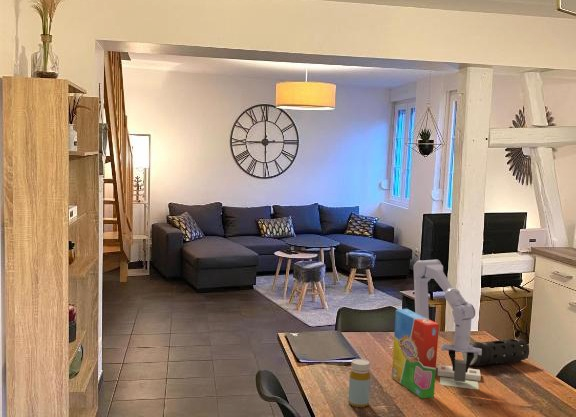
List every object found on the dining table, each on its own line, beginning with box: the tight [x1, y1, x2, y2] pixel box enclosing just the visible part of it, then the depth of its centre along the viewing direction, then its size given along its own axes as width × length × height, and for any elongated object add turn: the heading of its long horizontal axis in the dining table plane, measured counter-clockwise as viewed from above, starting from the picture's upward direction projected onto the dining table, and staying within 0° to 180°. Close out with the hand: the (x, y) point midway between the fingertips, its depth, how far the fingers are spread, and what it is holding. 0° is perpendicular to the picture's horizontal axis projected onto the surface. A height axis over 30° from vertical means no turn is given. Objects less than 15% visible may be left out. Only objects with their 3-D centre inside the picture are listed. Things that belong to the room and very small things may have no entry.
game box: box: [391, 308, 440, 399], centre depth 225 cm, size 21×6×27 cm, turn 22°
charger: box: [453, 358, 466, 382], centre depth 230 cm, size 4×4×7 cm
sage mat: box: [439, 376, 480, 391], centre depth 230 cm, size 14×8×1 cm, turn 75°
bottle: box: [347, 358, 371, 408], centre depth 208 cm, size 7×7×15 cm
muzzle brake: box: [461, 337, 530, 367], centre depth 254 cm, size 10×28×10 cm, turn 112°
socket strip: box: [437, 364, 482, 382], centre depth 239 cm, size 16×7×3 cm, turn 75°
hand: (459, 370), depth 230 cm, fingers closed on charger, 4 cm apart
